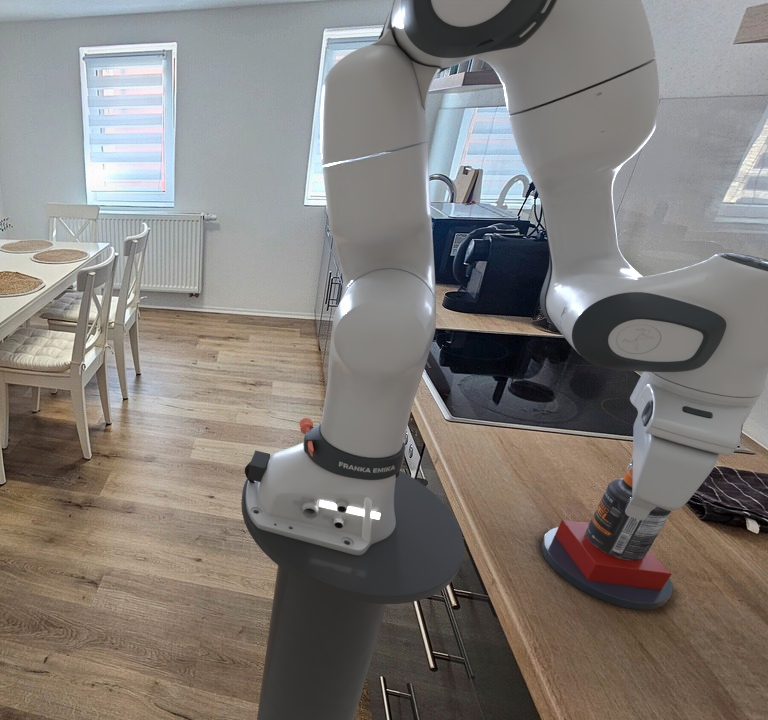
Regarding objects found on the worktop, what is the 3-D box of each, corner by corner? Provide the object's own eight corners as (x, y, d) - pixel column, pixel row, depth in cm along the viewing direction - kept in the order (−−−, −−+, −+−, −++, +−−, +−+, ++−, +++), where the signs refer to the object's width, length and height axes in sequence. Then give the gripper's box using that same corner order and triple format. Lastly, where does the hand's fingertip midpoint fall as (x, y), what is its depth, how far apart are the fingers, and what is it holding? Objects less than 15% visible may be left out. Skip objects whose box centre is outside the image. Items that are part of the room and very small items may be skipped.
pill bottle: (578, 522, 69) (610, 457, 64) (634, 535, 67) (671, 468, 62) (592, 553, 64) (627, 484, 59) (653, 568, 62) (695, 498, 57)
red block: (587, 580, 64) (596, 564, 63) (554, 535, 71) (561, 519, 70) (661, 590, 62) (672, 573, 61) (620, 543, 69) (629, 527, 68)
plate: (572, 600, 63) (576, 593, 63) (523, 526, 74) (526, 520, 74) (697, 618, 60) (701, 611, 60) (626, 538, 72) (629, 532, 71)
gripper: (648, 361, 65) (604, 447, 71) (651, 427, 51) (596, 526, 57) (719, 376, 61) (666, 466, 67) (742, 451, 47) (673, 555, 54)
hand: (634, 494), depth 62 cm, fingers open, 8 cm apart
